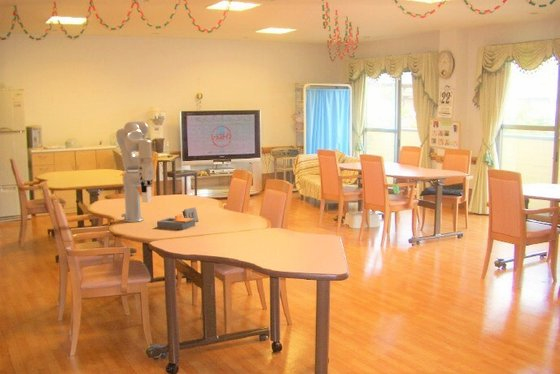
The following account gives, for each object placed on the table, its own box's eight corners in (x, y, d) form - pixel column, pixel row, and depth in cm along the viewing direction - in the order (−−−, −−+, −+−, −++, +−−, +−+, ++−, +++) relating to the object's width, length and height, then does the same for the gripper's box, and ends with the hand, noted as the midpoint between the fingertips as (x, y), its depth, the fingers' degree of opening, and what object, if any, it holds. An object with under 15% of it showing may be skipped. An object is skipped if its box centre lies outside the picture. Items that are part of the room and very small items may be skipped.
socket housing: (157, 227, 369) (157, 221, 368) (170, 223, 381) (170, 217, 381) (182, 230, 361) (182, 223, 361) (195, 225, 374) (194, 219, 374)
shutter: (173, 221, 366) (173, 216, 366) (182, 218, 374) (181, 213, 374) (185, 222, 363) (184, 217, 363) (193, 219, 371) (193, 214, 371)
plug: (142, 202, 359) (141, 185, 357) (146, 201, 362) (145, 184, 361) (147, 202, 357) (147, 185, 356) (151, 201, 361) (151, 184, 359)
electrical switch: (188, 224, 381) (186, 209, 380) (182, 223, 384) (181, 209, 383) (199, 221, 388) (197, 207, 387) (193, 221, 391) (192, 207, 391)
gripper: (142, 162, 347) (143, 194, 350) (159, 159, 362) (160, 190, 365) (131, 161, 350) (132, 193, 353) (148, 159, 366) (149, 189, 368)
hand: (146, 191), depth 359 cm, fingers closed on plug, 4 cm apart
